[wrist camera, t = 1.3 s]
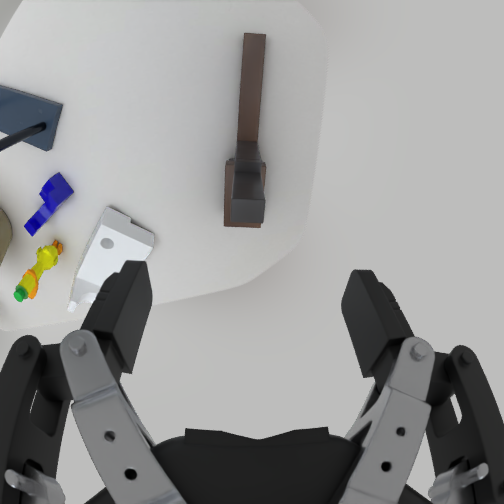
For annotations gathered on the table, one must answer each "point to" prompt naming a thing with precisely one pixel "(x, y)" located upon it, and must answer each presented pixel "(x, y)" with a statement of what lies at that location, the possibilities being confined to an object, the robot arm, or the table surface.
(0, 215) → the plant pot
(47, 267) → the toy figure
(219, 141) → the table surface
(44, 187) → the cable holder
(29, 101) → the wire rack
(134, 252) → the bracket
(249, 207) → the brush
